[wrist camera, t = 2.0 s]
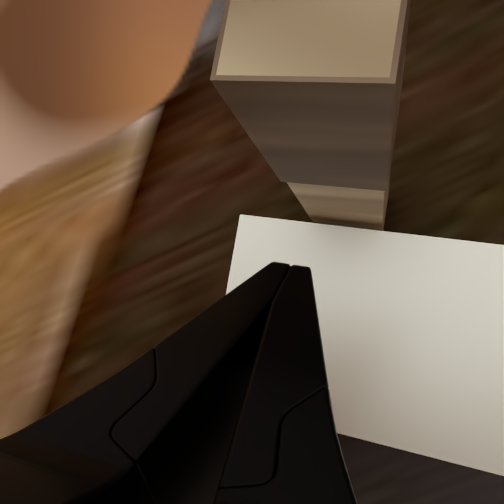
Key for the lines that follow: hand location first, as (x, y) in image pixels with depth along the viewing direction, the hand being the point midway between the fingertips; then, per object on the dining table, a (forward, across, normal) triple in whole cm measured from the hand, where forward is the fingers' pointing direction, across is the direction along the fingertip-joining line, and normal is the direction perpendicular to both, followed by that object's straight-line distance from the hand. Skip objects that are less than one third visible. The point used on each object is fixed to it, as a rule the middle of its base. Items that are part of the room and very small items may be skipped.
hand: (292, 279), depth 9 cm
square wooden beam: (+10, -3, +8) cm, 13 cm away
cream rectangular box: (+8, -2, +10) cm, 13 cm away
